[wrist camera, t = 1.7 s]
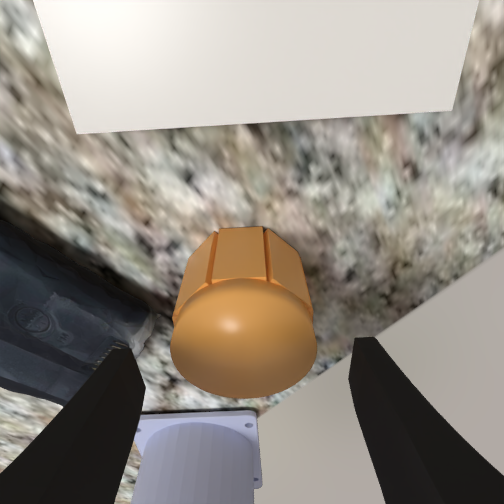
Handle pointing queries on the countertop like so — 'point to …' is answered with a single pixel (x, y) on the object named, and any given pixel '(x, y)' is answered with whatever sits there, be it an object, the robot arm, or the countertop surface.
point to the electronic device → (59, 319)
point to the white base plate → (253, 59)
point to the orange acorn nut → (243, 316)
